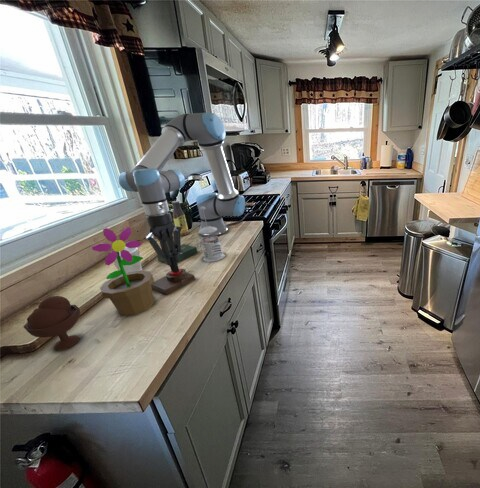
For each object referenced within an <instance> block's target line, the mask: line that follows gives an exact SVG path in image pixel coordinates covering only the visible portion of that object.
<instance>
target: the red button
mask: <svg viewBox="0 0 480 488" xmlns="http://www.w3.org/2000/svg"><path fill="white" fill-rule="evenodd" d="M181 269H182V268H179V271H177V272H173V271H171V270H170V271H169V272H170V275H171V276H176V275H179V274H181V273H182V271H181Z"/></svg>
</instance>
